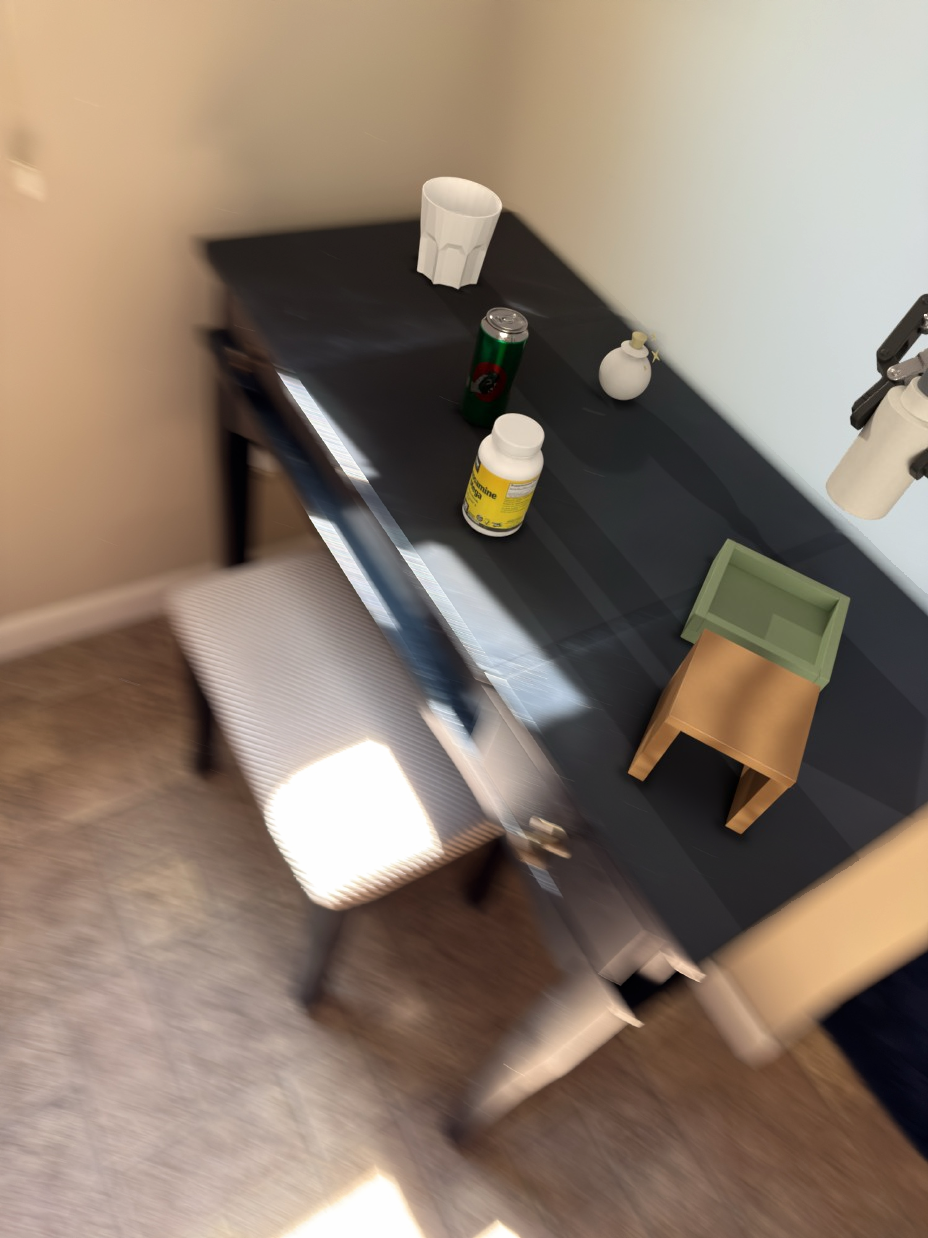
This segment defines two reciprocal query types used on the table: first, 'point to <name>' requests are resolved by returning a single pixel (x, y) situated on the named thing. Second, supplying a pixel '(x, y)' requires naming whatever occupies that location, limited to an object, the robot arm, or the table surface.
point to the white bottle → (883, 453)
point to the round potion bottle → (627, 368)
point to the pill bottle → (504, 476)
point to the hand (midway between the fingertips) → (883, 447)
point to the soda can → (494, 366)
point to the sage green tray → (770, 612)
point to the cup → (455, 229)
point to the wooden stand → (735, 720)
